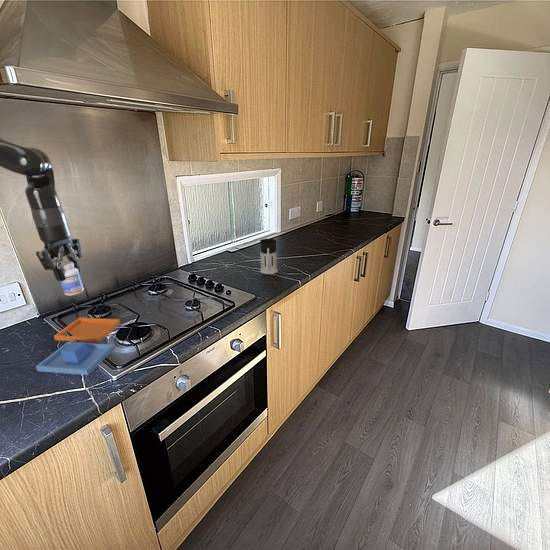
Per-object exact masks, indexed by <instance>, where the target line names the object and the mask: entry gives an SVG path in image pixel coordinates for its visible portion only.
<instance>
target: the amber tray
mask: <svg viewBox="0 0 550 550" xmlns="http://www.w3.org/2000/svg"><path fill="white" fill-rule="evenodd" d="M120 325H121V320H120V319H118V318H101V317H99V318H98V317H78V318H77V319H76V320H74V321H73V322H71V323H69V324H68V325H67V326H66V327H64V328H63V329H61V330H60V331H59V332H57V333H55V335H53V338H54V341H64V342H77V341H79V342H86V343H95V344H100V342H102V341H103V340H104V339H105V338H107V336H108V335H110V334H111V333H112V332H113V330H115V329H116V328H117V327H118V326H120ZM67 332H68V333H70V334H72V335H73V336H64V334H65V333H67Z"/></svg>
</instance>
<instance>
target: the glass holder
mask: <svg viewBox="0 0 550 550" xmlns="http://www.w3.org/2000/svg"><path fill="white" fill-rule="evenodd" d="M259 246H260V247H259V249H260V250H259V252H260V253H259V254H260V255H259V257H260V270H259V271H260V273H261V274H264V275H273V274H276V273H278V272H279V268H278V249H277V240H276V239H275V238H263V239H260V240H259Z"/></svg>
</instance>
